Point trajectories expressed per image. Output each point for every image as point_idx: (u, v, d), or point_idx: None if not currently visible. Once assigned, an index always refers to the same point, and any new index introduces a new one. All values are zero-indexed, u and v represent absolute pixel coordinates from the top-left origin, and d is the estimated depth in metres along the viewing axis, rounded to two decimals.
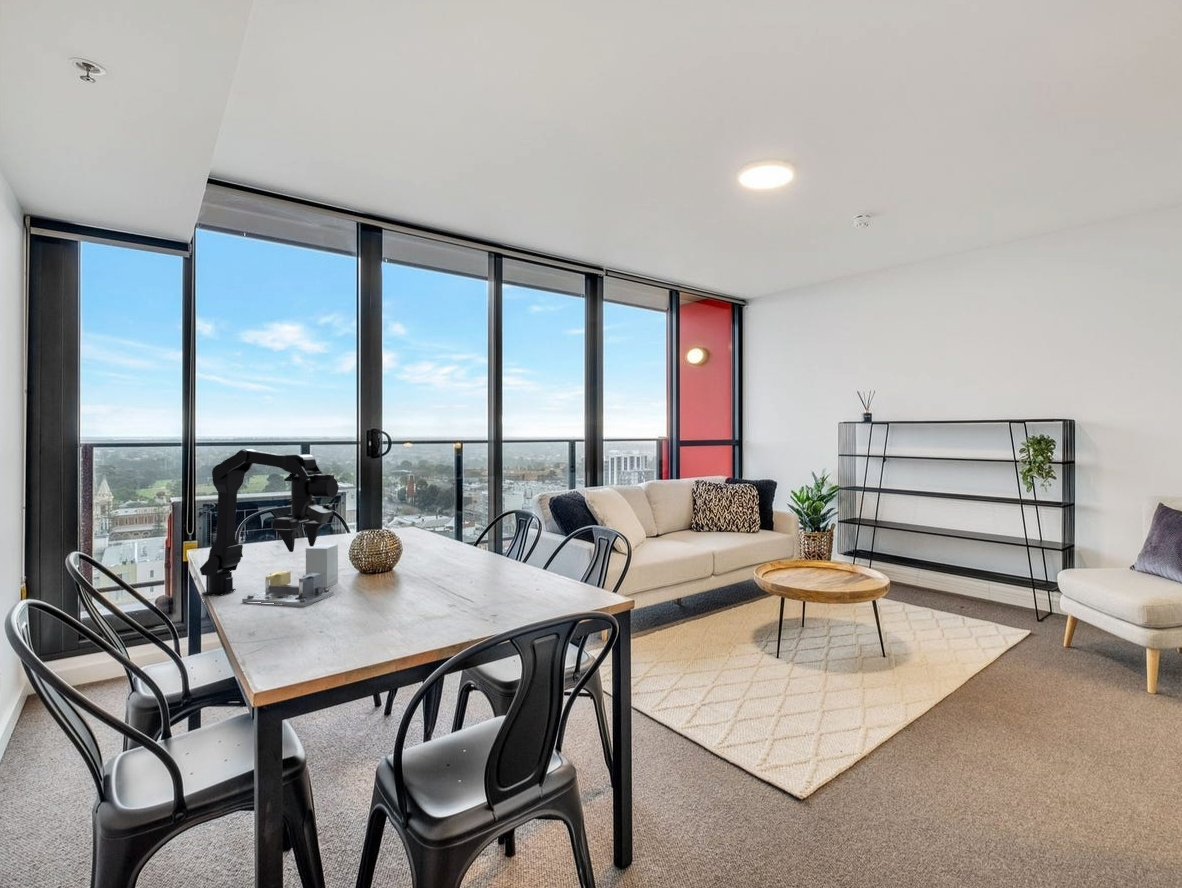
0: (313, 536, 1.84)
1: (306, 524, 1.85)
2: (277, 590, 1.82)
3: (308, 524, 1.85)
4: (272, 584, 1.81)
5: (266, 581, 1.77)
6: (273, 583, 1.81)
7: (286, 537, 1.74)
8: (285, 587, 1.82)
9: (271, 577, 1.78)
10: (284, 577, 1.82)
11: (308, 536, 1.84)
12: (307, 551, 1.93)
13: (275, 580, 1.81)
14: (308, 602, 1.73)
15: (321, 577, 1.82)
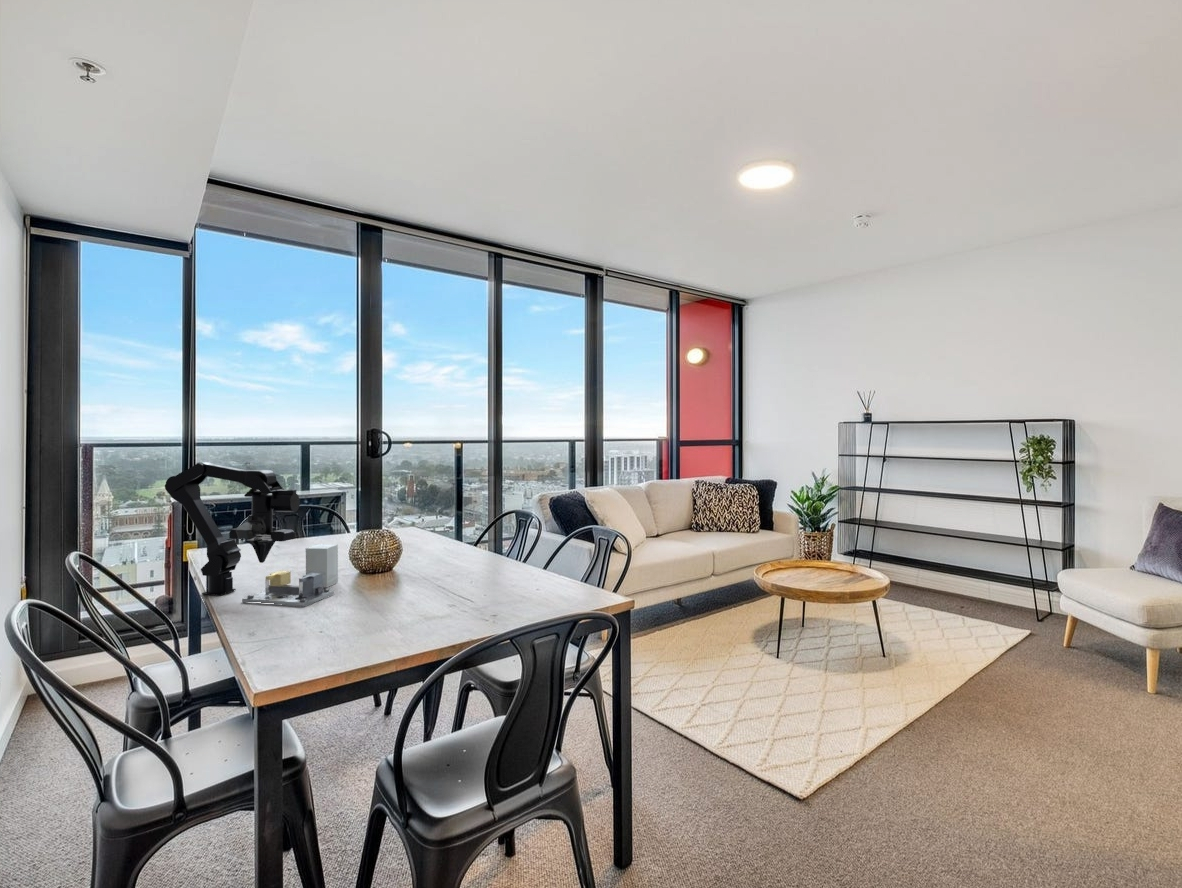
0: None
1: None
2: (277, 590, 1.82)
3: None
4: (272, 584, 1.81)
5: (266, 581, 1.77)
6: (273, 583, 1.81)
7: None
8: (285, 587, 1.82)
9: (271, 577, 1.78)
10: (284, 577, 1.82)
11: None
12: (307, 551, 1.93)
13: (275, 580, 1.81)
14: (308, 602, 1.73)
15: (321, 577, 1.82)
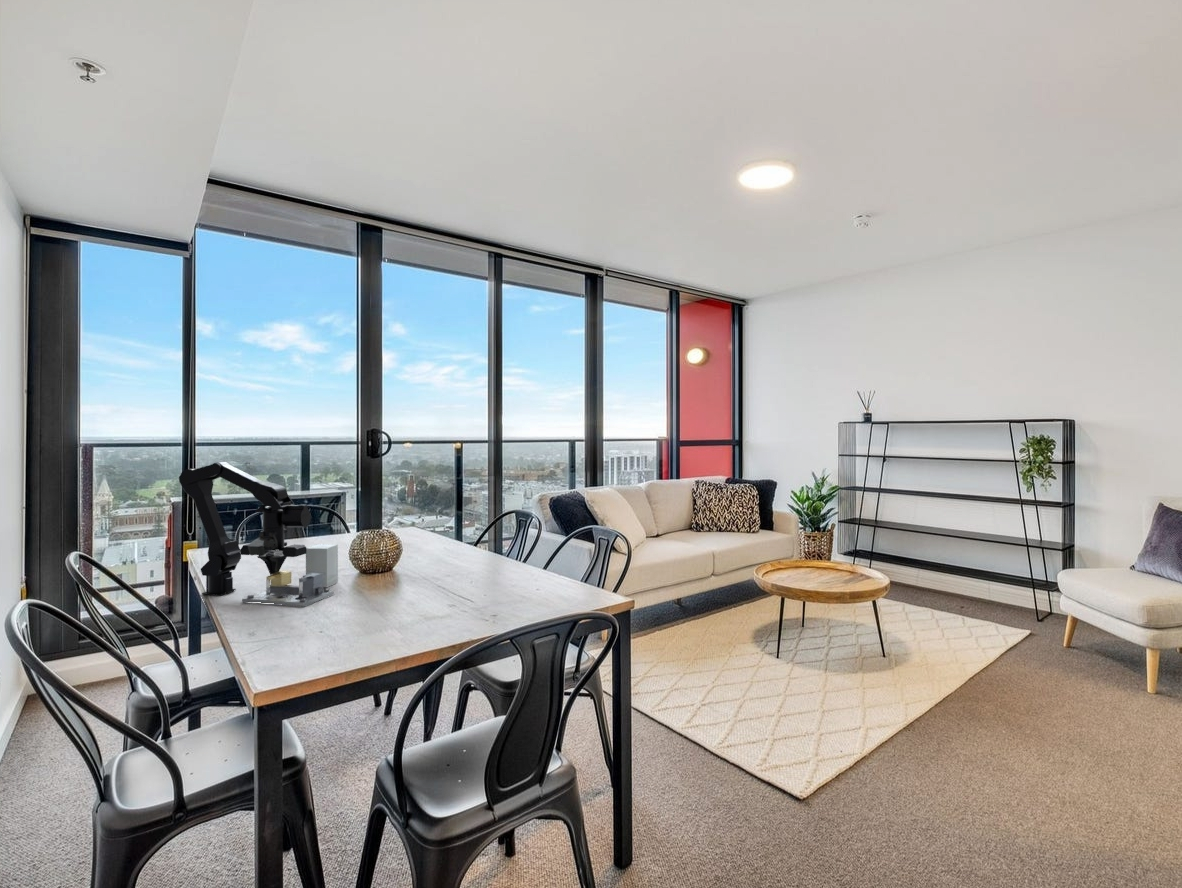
0: None
1: None
2: (277, 590, 1.82)
3: None
4: (273, 584, 1.81)
5: (267, 581, 1.77)
6: (274, 583, 1.81)
7: None
8: (285, 587, 1.82)
9: (272, 577, 1.78)
10: (285, 577, 1.82)
11: None
12: (307, 551, 1.93)
13: (275, 580, 1.81)
14: (308, 602, 1.73)
15: (321, 577, 1.82)
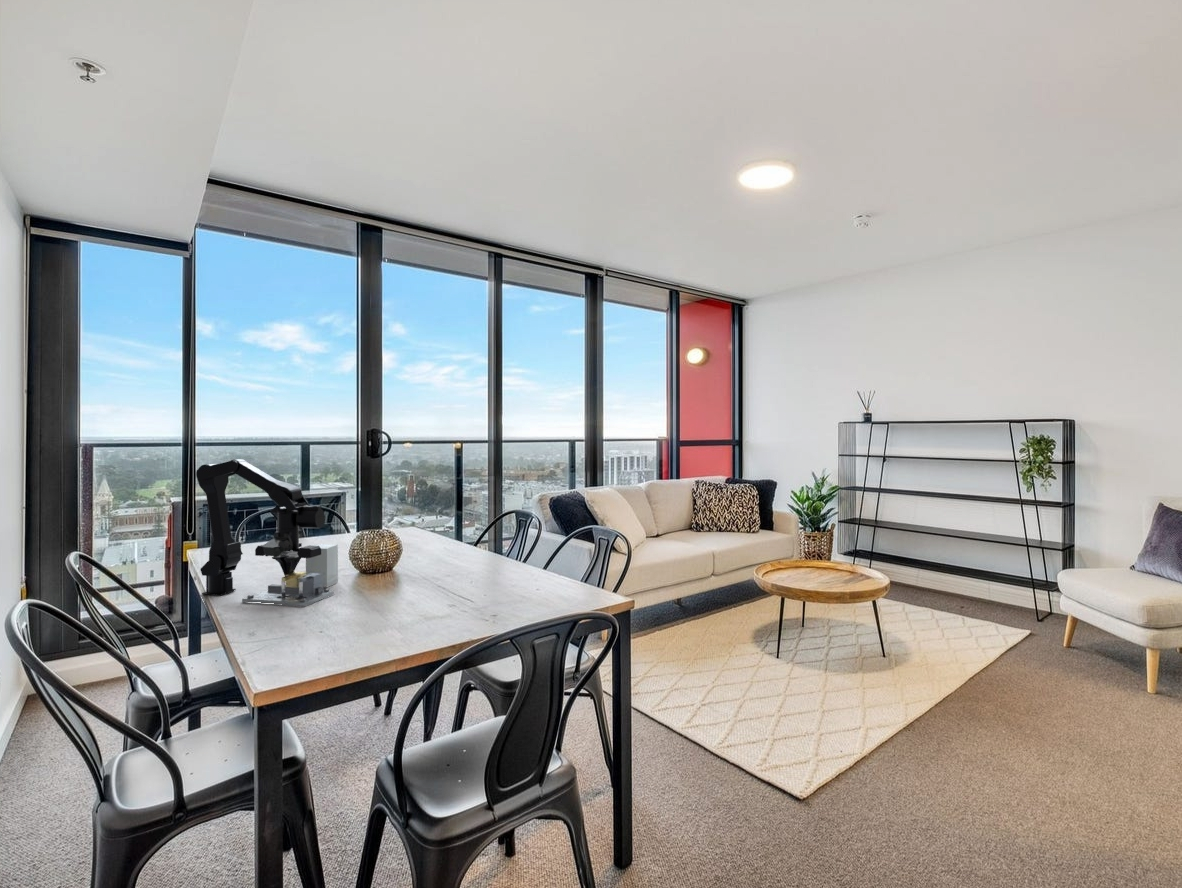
0: None
1: None
2: (277, 590, 1.82)
3: None
4: (288, 585, 1.80)
5: (282, 582, 1.76)
6: (289, 584, 1.80)
7: None
8: (285, 587, 1.82)
9: (287, 578, 1.77)
10: None
11: None
12: None
13: (290, 581, 1.80)
14: (308, 602, 1.73)
15: (321, 577, 1.82)
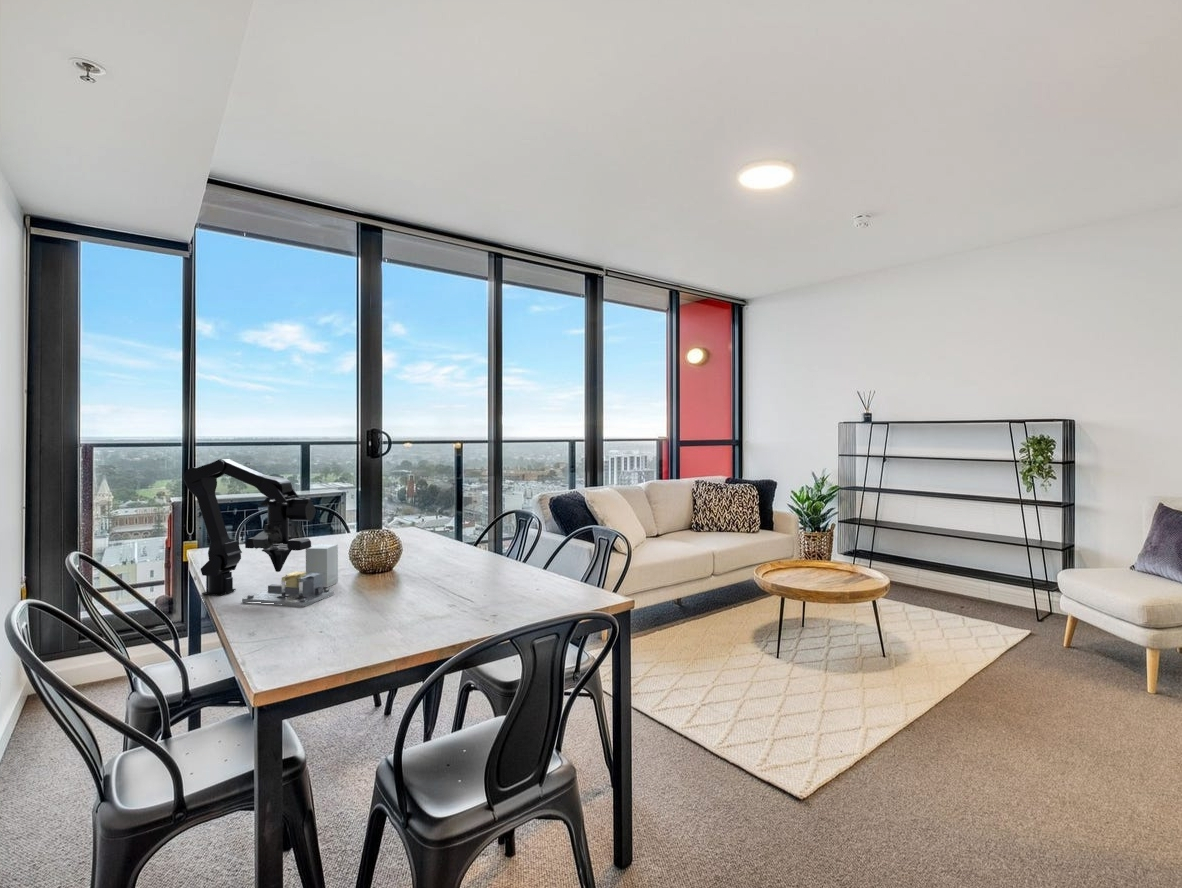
0: None
1: None
2: (277, 590, 1.82)
3: None
4: (288, 585, 1.80)
5: (282, 582, 1.76)
6: (289, 584, 1.80)
7: None
8: (285, 587, 1.82)
9: (287, 578, 1.77)
10: None
11: None
12: (307, 551, 1.93)
13: (290, 581, 1.80)
14: (308, 602, 1.73)
15: (321, 577, 1.82)
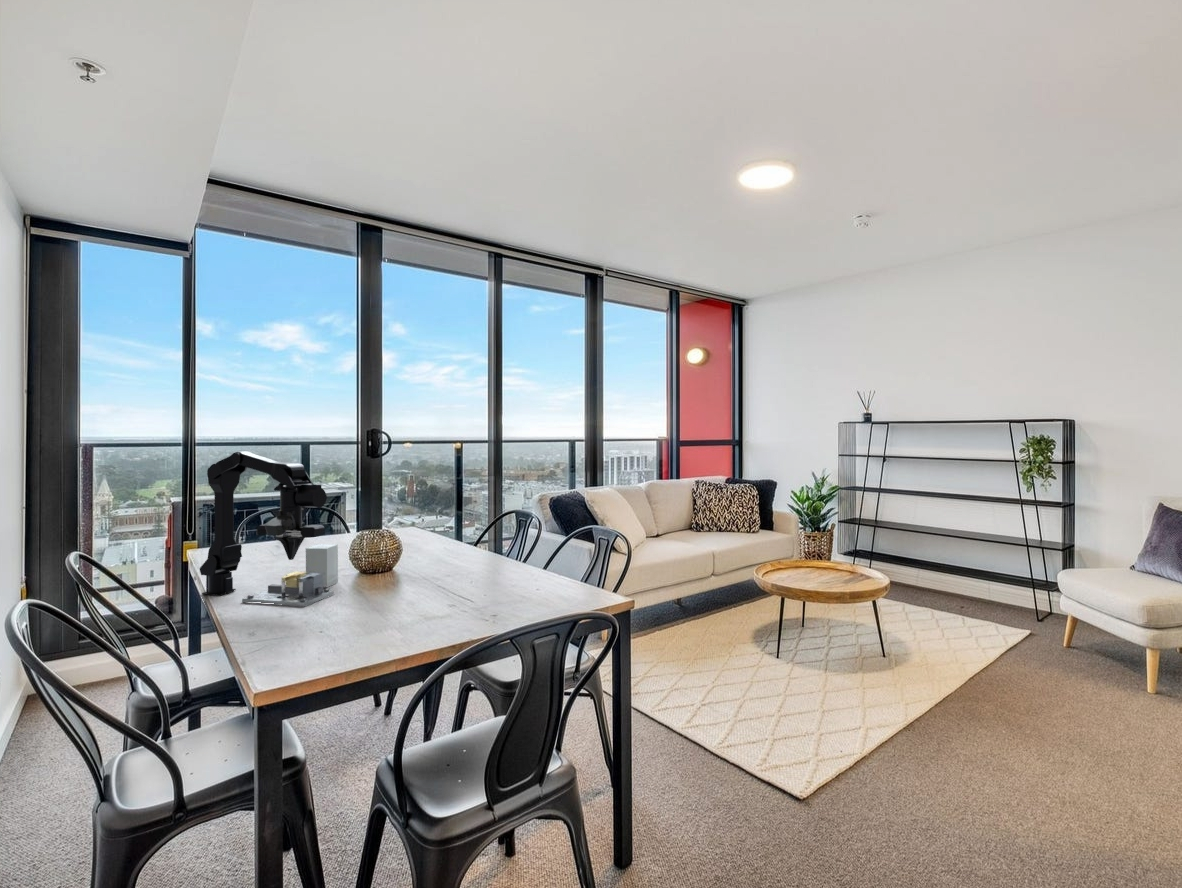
0: None
1: None
2: (277, 590, 1.82)
3: None
4: (288, 585, 1.80)
5: (282, 582, 1.76)
6: (289, 584, 1.80)
7: None
8: (285, 587, 1.82)
9: (287, 578, 1.77)
10: None
11: None
12: (307, 551, 1.93)
13: (290, 581, 1.80)
14: (308, 602, 1.73)
15: (321, 577, 1.82)
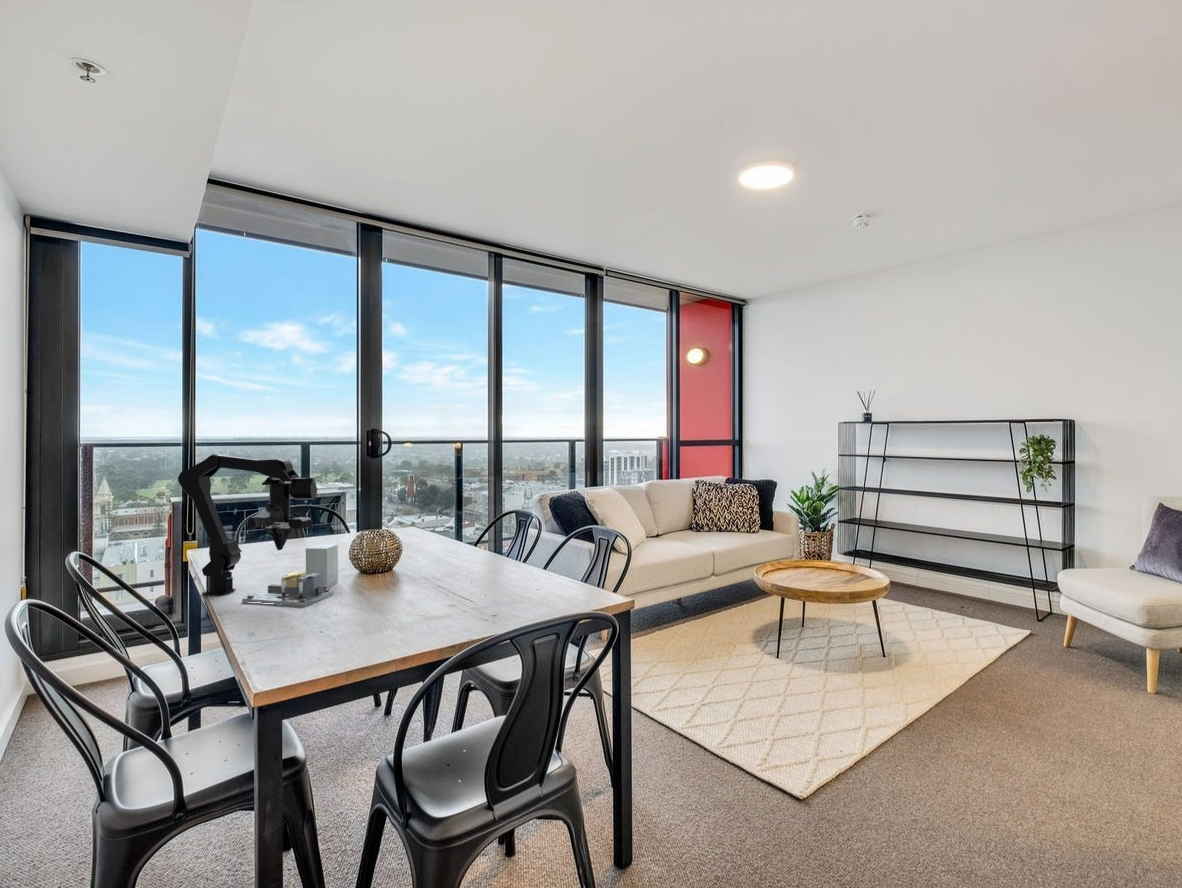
0: None
1: None
2: (277, 590, 1.82)
3: None
4: (288, 585, 1.80)
5: (282, 582, 1.76)
6: (289, 584, 1.80)
7: None
8: (285, 587, 1.82)
9: (287, 578, 1.77)
10: None
11: None
12: (307, 551, 1.93)
13: (290, 581, 1.80)
14: (308, 602, 1.73)
15: (321, 577, 1.82)
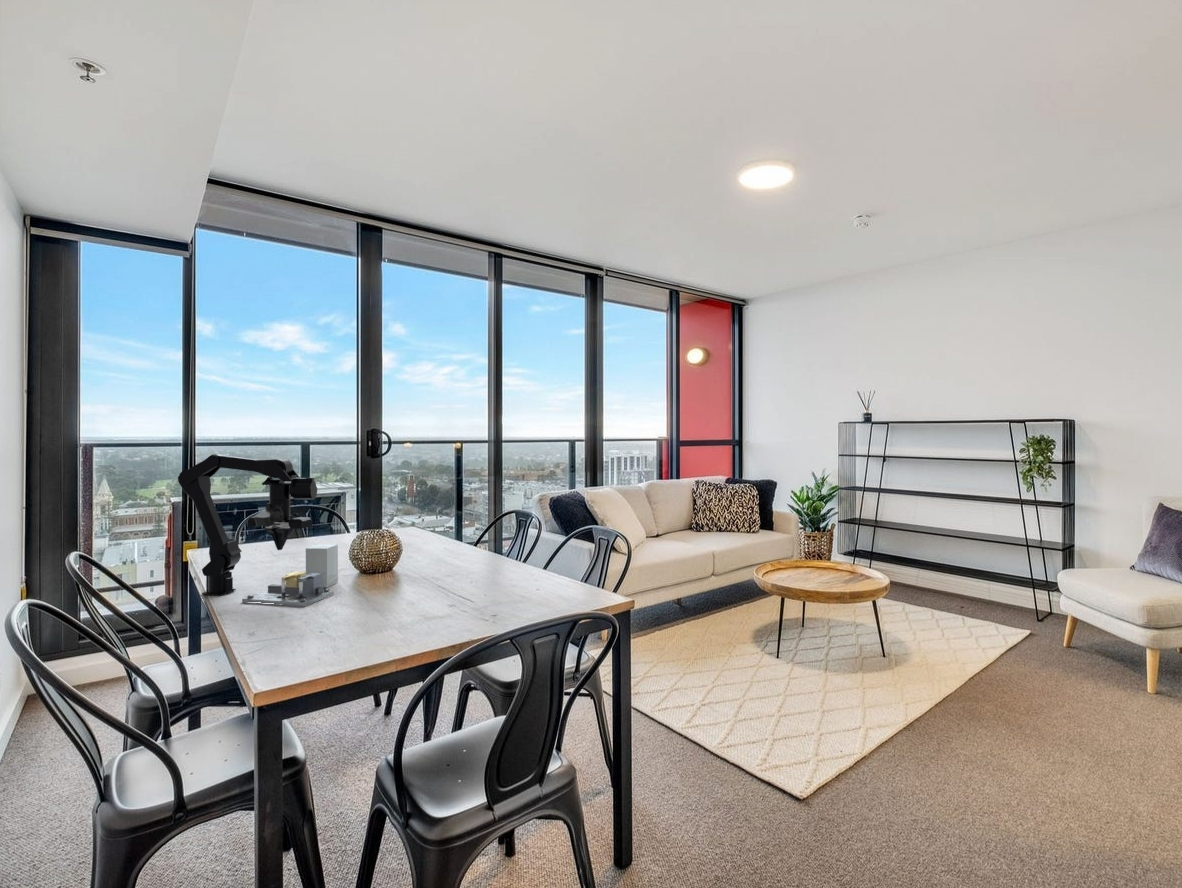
0: None
1: None
2: (277, 590, 1.82)
3: None
4: (288, 585, 1.80)
5: (282, 582, 1.76)
6: (289, 584, 1.80)
7: None
8: (285, 587, 1.82)
9: (287, 578, 1.77)
10: None
11: None
12: (307, 551, 1.93)
13: (290, 581, 1.80)
14: (308, 602, 1.73)
15: (321, 577, 1.82)
